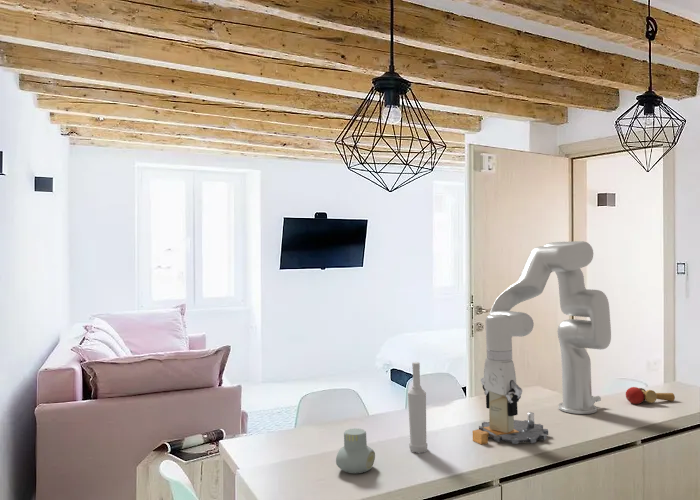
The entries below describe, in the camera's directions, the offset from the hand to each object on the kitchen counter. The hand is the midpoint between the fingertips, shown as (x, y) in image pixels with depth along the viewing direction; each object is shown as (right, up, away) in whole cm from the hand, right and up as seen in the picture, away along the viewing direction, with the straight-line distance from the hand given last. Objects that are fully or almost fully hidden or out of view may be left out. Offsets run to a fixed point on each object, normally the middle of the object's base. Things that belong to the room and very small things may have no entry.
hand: (501, 411), depth 168 cm
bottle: (-26, -9, -9) cm, 29 cm away
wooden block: (-1, -8, -1) cm, 8 cm away
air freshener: (-45, -9, -23) cm, 51 cm away
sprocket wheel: (+4, -8, +1) cm, 9 cm away
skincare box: (0, -6, 0) cm, 6 cm away
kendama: (+63, -7, +33) cm, 72 cm away
